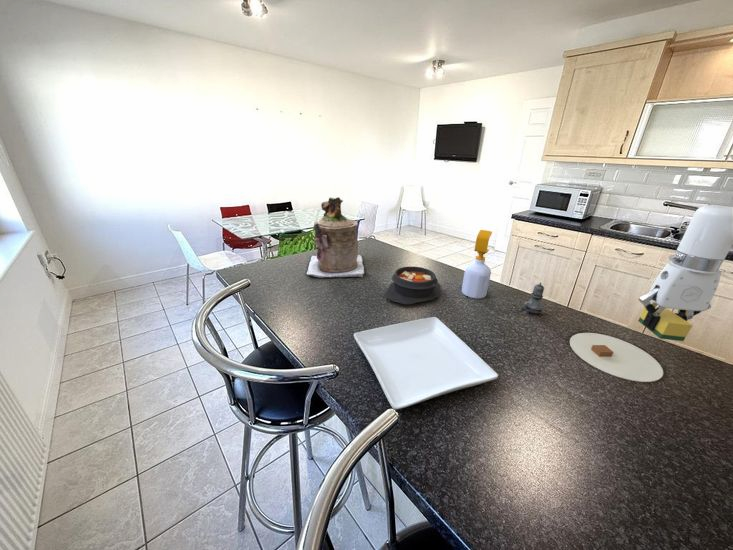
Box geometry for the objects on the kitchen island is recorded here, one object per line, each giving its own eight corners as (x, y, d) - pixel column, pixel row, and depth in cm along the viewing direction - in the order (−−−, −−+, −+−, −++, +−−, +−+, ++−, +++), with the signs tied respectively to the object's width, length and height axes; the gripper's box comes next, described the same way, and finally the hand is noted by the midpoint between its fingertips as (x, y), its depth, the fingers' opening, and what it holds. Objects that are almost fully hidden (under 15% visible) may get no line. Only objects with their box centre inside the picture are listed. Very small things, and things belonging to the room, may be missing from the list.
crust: (603, 349, 81) (605, 345, 80) (611, 356, 78) (613, 352, 78) (590, 349, 81) (592, 344, 80) (598, 356, 78) (600, 352, 78)
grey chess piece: (530, 320, 96) (540, 287, 92) (517, 311, 102) (526, 279, 97) (545, 317, 98) (555, 285, 93) (531, 308, 103) (540, 277, 98)
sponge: (658, 323, 78) (666, 307, 76) (683, 341, 70) (692, 325, 69) (637, 320, 78) (645, 305, 76) (660, 338, 71) (668, 322, 69)
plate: (628, 340, 87) (630, 336, 87) (683, 390, 69) (685, 386, 69) (556, 332, 90) (557, 329, 90) (590, 379, 72) (592, 375, 72)
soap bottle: (488, 292, 114) (501, 230, 104) (483, 301, 107) (496, 236, 97) (465, 286, 119) (475, 226, 109) (458, 295, 112) (469, 232, 102)
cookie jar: (362, 258, 146) (363, 191, 133) (365, 278, 123) (366, 201, 110) (311, 258, 144) (308, 191, 131) (305, 279, 122) (300, 200, 109)
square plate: (351, 343, 83) (351, 331, 82) (434, 325, 92) (436, 315, 91) (392, 421, 60) (394, 407, 58) (498, 387, 69) (501, 374, 68)
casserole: (415, 315, 97) (417, 293, 94) (373, 296, 109) (373, 276, 105) (451, 291, 114) (454, 271, 111) (411, 277, 126) (413, 258, 122)
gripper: (666, 264, 64) (633, 333, 72) (756, 271, 62) (712, 341, 70) (642, 253, 71) (614, 317, 79) (723, 258, 69) (686, 324, 76)
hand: (660, 327), depth 74 cm, fingers closed on sponge, 5 cm apart
